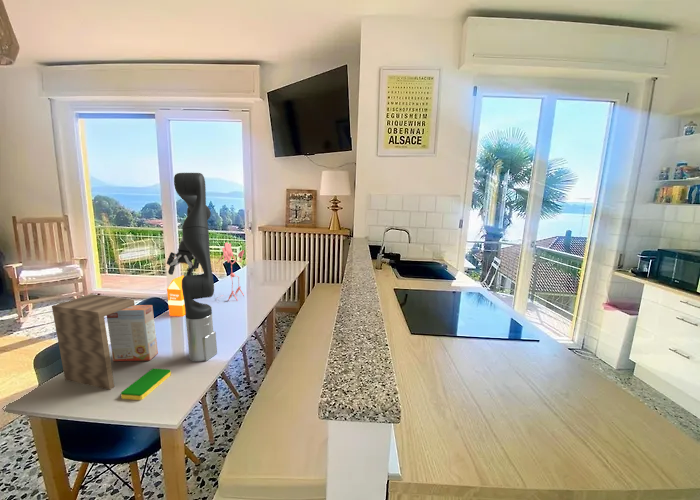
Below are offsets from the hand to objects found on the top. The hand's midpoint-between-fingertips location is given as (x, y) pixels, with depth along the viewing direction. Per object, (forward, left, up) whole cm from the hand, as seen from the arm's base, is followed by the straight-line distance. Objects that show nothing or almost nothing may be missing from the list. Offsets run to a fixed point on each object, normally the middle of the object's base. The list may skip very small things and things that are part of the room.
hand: (179, 275), depth 141 cm
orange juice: (+15, -15, -26) cm, 34 cm away
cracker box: (-3, +27, -26) cm, 38 cm away
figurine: (+5, -43, -26) cm, 50 cm away
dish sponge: (-23, +40, -27) cm, 53 cm away
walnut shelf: (-3, +39, -26) cm, 47 cm away
